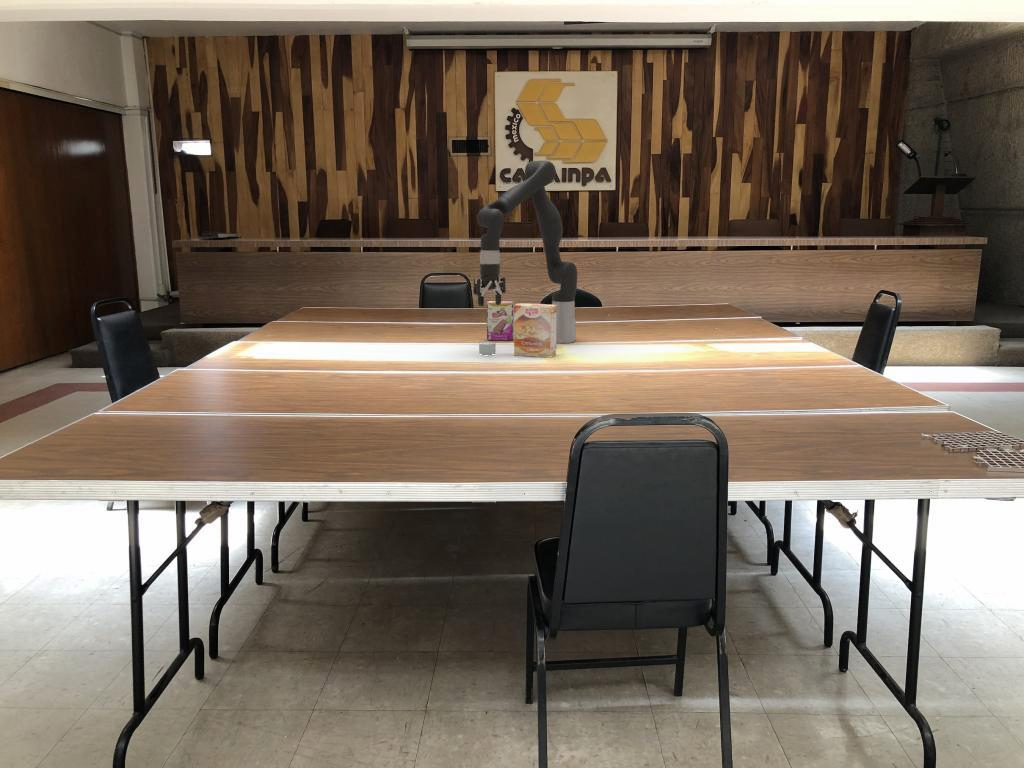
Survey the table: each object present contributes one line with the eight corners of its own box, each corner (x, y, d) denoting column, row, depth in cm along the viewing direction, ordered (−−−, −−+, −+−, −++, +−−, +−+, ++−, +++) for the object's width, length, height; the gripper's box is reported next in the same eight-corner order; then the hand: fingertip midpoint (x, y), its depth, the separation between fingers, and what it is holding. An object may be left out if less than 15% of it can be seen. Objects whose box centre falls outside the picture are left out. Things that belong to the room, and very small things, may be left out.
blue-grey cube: (487, 353, 331) (487, 342, 330) (495, 354, 328) (495, 343, 327) (479, 355, 328) (479, 343, 327) (487, 356, 325) (487, 344, 324)
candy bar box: (486, 341, 359) (486, 302, 355) (488, 339, 363) (487, 300, 360) (513, 341, 357) (513, 302, 354) (514, 339, 362) (514, 301, 359)
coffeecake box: (513, 355, 326) (513, 304, 322) (520, 352, 333) (520, 302, 329) (550, 358, 321) (550, 306, 316) (556, 354, 327) (556, 304, 323)
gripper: (497, 261, 329) (496, 303, 332) (469, 262, 319) (469, 305, 322) (510, 262, 323) (509, 305, 326) (482, 263, 314) (481, 307, 317)
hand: (489, 305), depth 324 cm, fingers open, 8 cm apart
